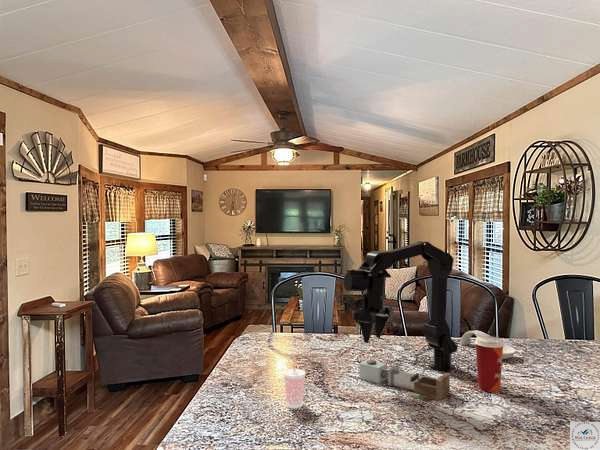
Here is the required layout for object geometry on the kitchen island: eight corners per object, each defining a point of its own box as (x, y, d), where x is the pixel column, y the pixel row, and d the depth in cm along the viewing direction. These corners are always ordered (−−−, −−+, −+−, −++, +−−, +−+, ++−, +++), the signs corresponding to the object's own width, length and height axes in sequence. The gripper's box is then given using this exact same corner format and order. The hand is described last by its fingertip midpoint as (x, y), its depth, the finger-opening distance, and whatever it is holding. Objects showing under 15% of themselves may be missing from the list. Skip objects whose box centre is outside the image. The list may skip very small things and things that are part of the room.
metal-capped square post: (396, 380, 141) (396, 365, 141) (424, 387, 136) (424, 371, 136) (385, 387, 136) (385, 371, 136) (414, 394, 130) (414, 378, 130)
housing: (421, 385, 137) (421, 367, 137) (449, 392, 132) (449, 373, 132) (407, 396, 129) (407, 377, 129) (436, 403, 124) (436, 383, 124)
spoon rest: (523, 360, 162) (523, 340, 162) (498, 364, 158) (498, 344, 158) (475, 343, 184) (475, 326, 184) (452, 346, 180) (452, 328, 180)
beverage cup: (284, 400, 127) (283, 350, 126) (305, 400, 126) (305, 350, 126) (282, 409, 121) (282, 357, 120) (305, 409, 120) (305, 357, 120)
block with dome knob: (367, 374, 148) (367, 358, 147) (390, 380, 142) (390, 363, 142) (359, 379, 144) (359, 361, 144) (383, 384, 138) (383, 367, 138)
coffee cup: (507, 394, 130) (507, 343, 130) (477, 392, 132) (477, 341, 131) (500, 384, 138) (500, 335, 138) (472, 382, 140) (472, 334, 140)
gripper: (364, 286, 155) (361, 331, 155) (339, 290, 140) (336, 340, 139) (394, 290, 149) (392, 337, 149) (372, 295, 134) (369, 347, 133)
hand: (372, 340), depth 143 cm, fingers open, 9 cm apart
